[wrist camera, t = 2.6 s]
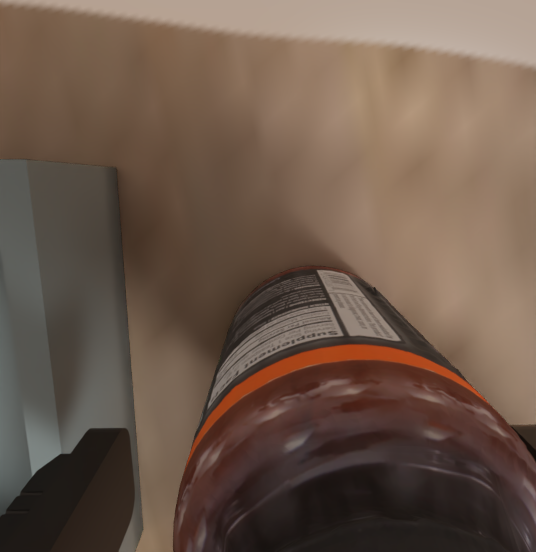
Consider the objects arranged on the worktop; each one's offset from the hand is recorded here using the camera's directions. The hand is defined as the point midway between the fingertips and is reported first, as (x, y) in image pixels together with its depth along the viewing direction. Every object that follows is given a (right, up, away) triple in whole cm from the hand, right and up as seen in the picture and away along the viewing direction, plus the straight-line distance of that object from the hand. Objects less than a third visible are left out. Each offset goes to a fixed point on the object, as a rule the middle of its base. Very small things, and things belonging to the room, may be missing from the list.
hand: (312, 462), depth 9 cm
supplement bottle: (+1, +2, +6) cm, 6 cm away
